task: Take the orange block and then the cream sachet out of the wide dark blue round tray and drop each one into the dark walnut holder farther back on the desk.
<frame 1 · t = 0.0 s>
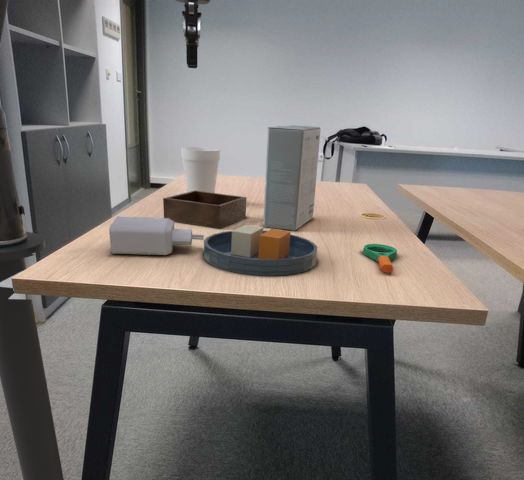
hand: (192, 66, 101), 30 cm above the table, tool pointing down, fingers open, 8 cm apart
orange block: (273, 256, 80), point 1 cm above the table, touching dark blue round tray
foam cup: (200, 203, 123), on the table
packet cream: (246, 252, 82), point 1 cm above the table, touching dark blue round tray
magnifying glass: (381, 262, 84), on the table
dark blue round tray: (260, 257, 81), on the table
holder: (206, 218, 106), on the table
hard drive box: (288, 223, 108), on the table
charger: (160, 250, 82), on the table
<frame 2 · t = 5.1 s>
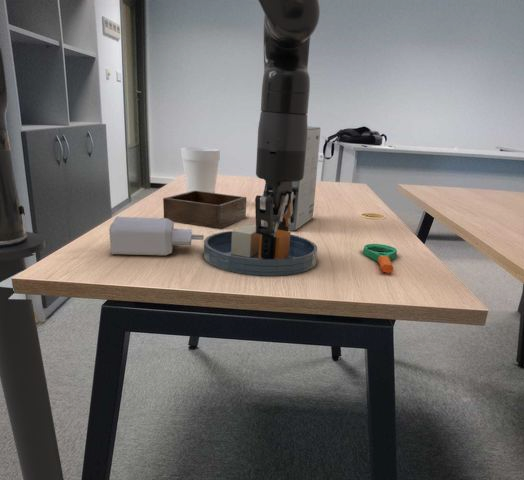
hand: (274, 253, 80), 1 cm above the table, tool pointing down, fingers closed on orange block, 5 cm apart
orange block: (273, 256, 80), point 1 cm above the table, touching dark blue round tray, gripper
everything else where it was.
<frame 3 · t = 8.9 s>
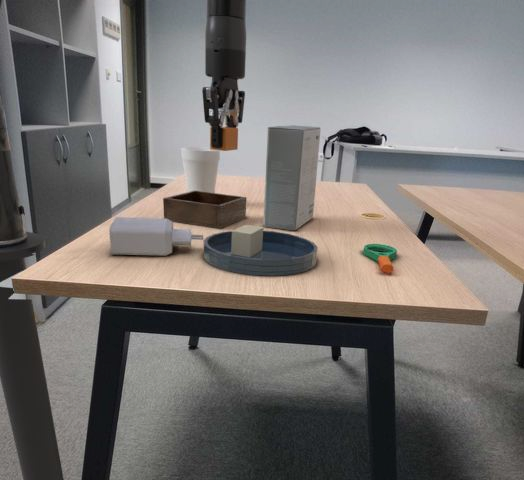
hand: (223, 146, 95), 16 cm above the table, tool pointing down, fingers closed on orange block, 5 cm apart
orange block: (224, 149, 95), point 15 cm above the table, touching gripper
everything else where it was.
when the fingers open (2 cm above the table, at t = 12.9 s): orange block drops 1 cm, resting on holder.
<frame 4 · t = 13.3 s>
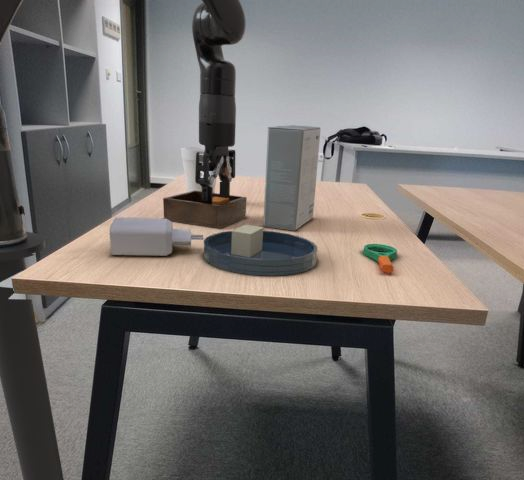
hand: (215, 202, 104), 4 cm above the table, tool pointing down, fingers open, 8 cm apart
orange block: (216, 217, 105), point 1 cm above the table, touching holder
everything else where it was.
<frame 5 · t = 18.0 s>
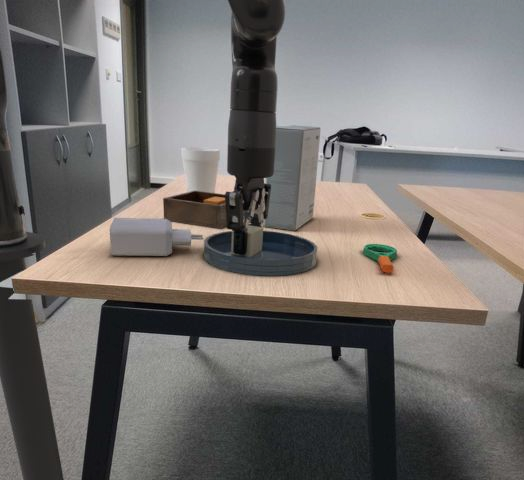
hand: (247, 249, 81), 1 cm above the table, tool pointing down, fingers closed on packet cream, 5 cm apart
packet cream: (246, 252, 82), point 1 cm above the table, touching dark blue round tray, gripper
everything else where it was.
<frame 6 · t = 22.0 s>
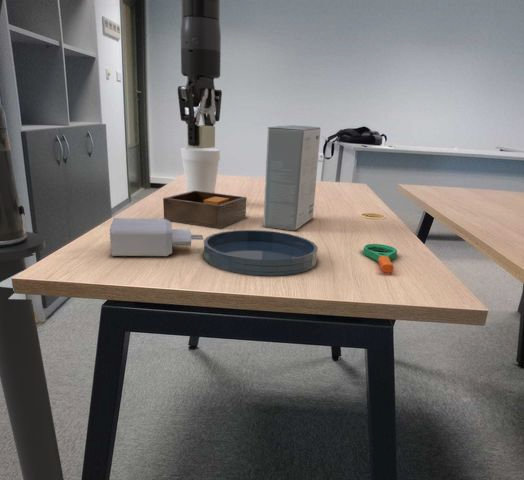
hand: (201, 144, 97), 15 cm above the table, tool pointing down, fingers closed on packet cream, 5 cm apart
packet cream: (201, 147, 98), point 15 cm above the table, touching gripper
everything else where it was.
when the fingers open (2 cm above the table, at t = 25.9 s): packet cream drops 1 cm, resting on holder.
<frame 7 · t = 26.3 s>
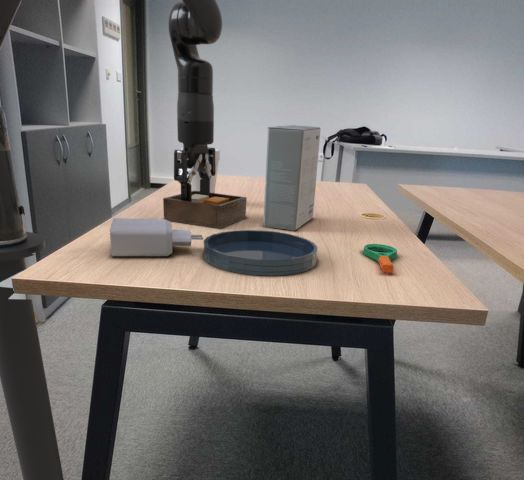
hand: (195, 199, 105), 4 cm above the table, tool pointing down, fingers open, 8 cm apart
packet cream: (196, 214, 107), point 1 cm above the table, touching holder
everything else where it was.
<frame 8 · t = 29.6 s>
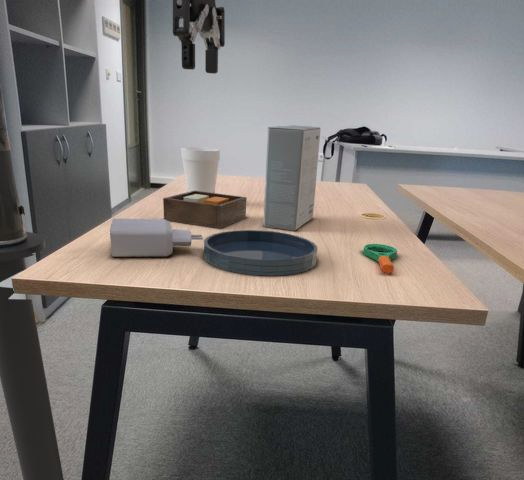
hand: (200, 71, 84), 28 cm above the table, tool pointing down, fingers open, 8 cm apart
nothing on the table moved.
at the end: orange block inside the target area in the holder (2.5 cm from its centre), point 0.6 cm above the holder's base; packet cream inside the target area in the holder (2.5 cm from its centre), point 0.6 cm above the holder's base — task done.
